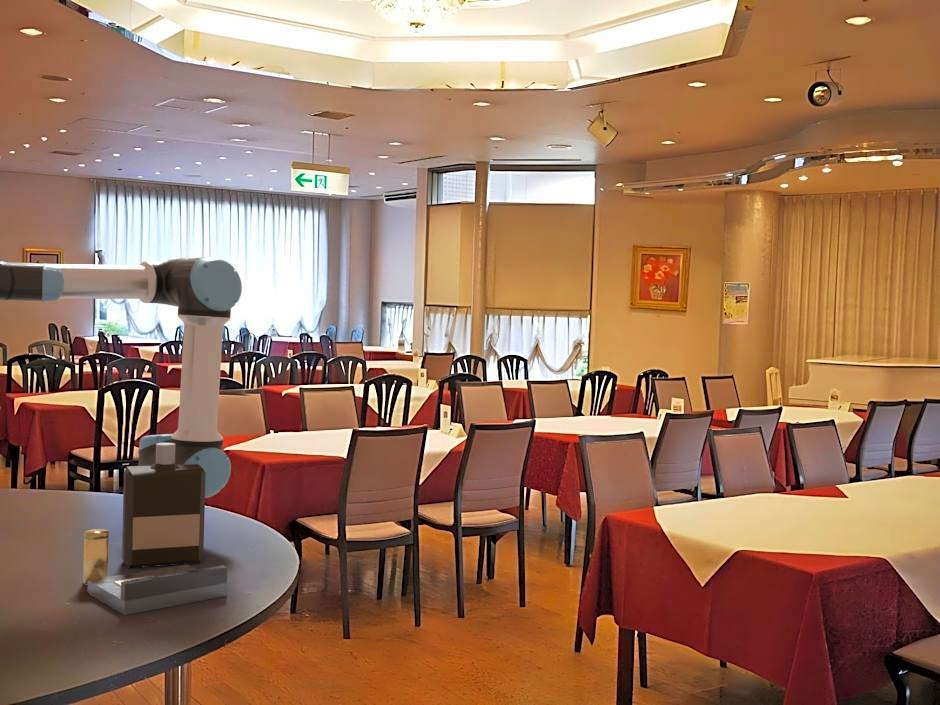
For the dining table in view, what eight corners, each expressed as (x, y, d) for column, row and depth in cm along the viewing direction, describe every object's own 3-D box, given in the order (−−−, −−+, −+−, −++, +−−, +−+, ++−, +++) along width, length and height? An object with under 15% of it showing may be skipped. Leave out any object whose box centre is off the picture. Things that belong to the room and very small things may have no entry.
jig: (186, 576, 203) (187, 549, 203) (226, 595, 191) (227, 567, 191) (87, 593, 190) (88, 564, 189) (124, 615, 178) (124, 584, 178)
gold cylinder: (101, 578, 200) (102, 528, 199) (111, 583, 197) (112, 532, 196) (79, 581, 197) (80, 530, 196) (88, 587, 194) (89, 535, 193)
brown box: (120, 559, 214) (123, 442, 213) (198, 554, 221) (201, 440, 219) (125, 569, 207) (127, 447, 205) (204, 563, 213) (208, 445, 212)
